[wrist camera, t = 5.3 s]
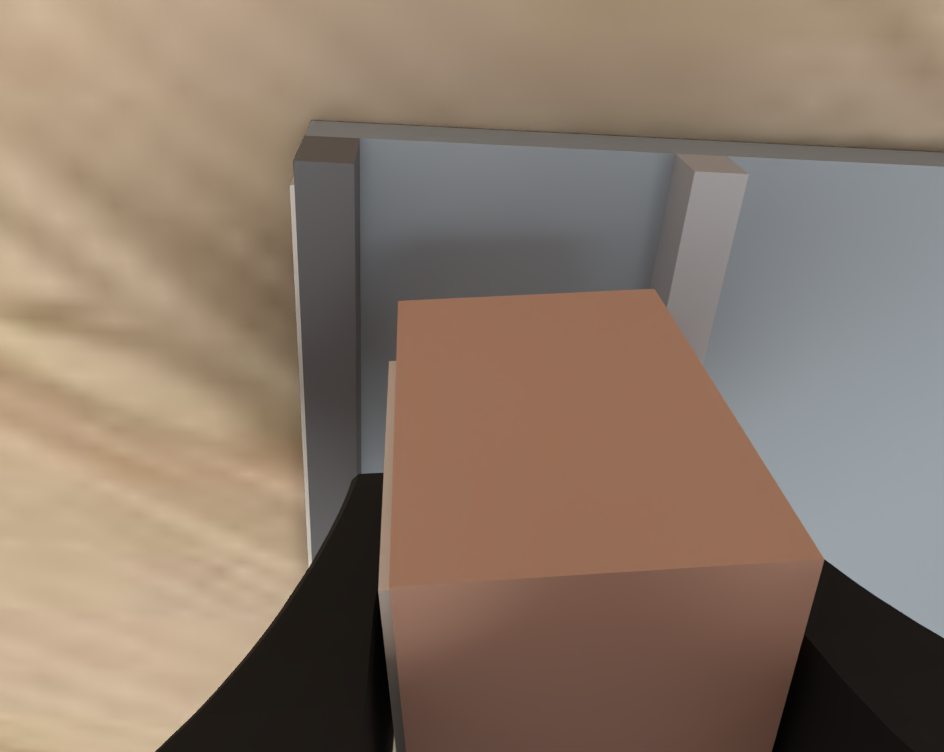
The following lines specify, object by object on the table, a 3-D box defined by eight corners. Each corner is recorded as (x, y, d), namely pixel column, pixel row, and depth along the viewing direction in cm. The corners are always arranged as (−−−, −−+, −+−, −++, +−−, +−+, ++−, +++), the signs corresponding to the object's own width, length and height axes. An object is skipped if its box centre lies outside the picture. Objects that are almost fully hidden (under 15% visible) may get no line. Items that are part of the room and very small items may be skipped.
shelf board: (305, 120, 16) (286, 160, 13) (1154, 162, 17) (1278, 206, 15) (328, 716, 25) (318, 807, 22) (885, 707, 26) (934, 791, 24)
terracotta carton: (387, 301, 12) (370, 587, 7) (654, 288, 13) (824, 559, 7) (412, 602, 16) (413, 947, 11) (623, 590, 16) (725, 920, 11)
